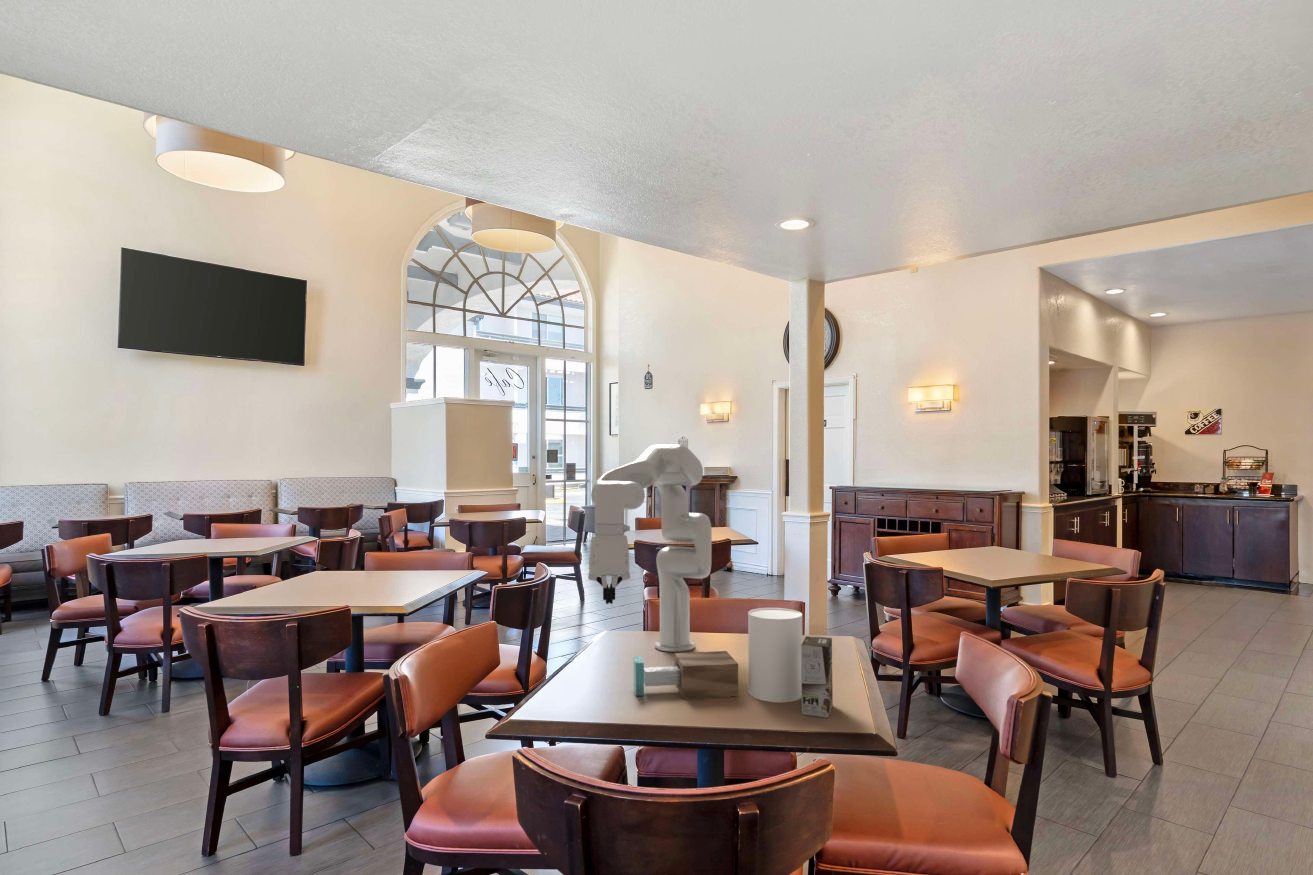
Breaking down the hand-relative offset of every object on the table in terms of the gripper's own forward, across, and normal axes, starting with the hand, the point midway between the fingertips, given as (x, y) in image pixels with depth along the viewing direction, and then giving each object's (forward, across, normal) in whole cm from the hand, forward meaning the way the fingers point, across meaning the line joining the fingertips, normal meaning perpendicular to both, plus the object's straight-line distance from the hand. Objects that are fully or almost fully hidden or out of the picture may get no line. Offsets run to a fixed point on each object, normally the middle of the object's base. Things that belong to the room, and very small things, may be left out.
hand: (609, 602), depth 175 cm
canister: (+23, -42, +6) cm, 48 cm away
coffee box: (+23, -48, +19) cm, 56 cm away
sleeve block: (+22, -25, +1) cm, 34 cm away
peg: (+22, -14, +1) cm, 26 cm away
